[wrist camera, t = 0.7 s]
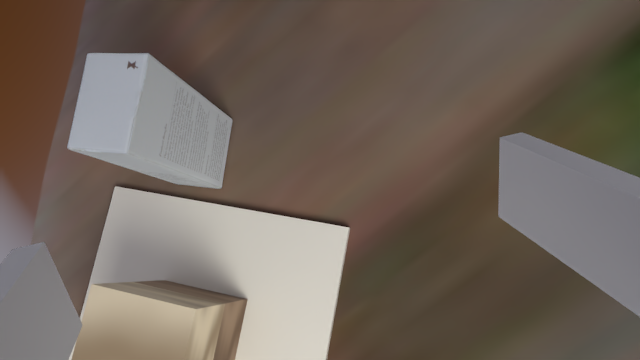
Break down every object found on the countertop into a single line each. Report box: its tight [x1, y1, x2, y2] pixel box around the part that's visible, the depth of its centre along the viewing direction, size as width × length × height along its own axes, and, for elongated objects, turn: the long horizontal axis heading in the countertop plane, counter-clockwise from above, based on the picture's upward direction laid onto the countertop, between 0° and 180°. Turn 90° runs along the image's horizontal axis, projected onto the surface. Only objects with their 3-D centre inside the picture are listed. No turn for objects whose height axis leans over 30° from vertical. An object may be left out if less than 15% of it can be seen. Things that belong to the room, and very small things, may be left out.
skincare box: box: [67, 53, 232, 189], centre depth 30 cm, size 6×4×12 cm
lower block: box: [136, 280, 248, 360], centre depth 30 cm, size 7×7×4 cm
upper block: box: [71, 282, 225, 360], centre depth 27 cm, size 7×7×4 cm
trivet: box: [69, 186, 350, 360], centre depth 33 cm, size 20×20×1 cm
